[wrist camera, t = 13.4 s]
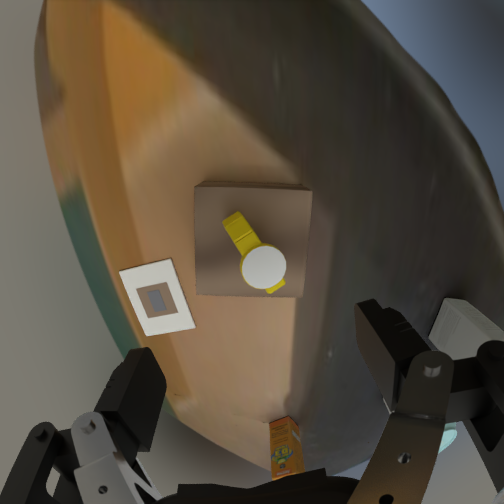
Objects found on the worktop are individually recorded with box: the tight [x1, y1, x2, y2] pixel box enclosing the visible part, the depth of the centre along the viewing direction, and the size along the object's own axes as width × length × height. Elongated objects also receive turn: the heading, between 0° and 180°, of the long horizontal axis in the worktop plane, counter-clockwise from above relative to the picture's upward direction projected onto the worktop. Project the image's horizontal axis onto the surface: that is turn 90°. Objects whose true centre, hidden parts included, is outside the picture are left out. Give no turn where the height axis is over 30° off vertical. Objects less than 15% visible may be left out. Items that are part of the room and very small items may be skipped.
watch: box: [222, 211, 286, 294], centre depth 21 cm, size 6×3×6 cm, turn 32°
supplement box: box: [269, 416, 305, 480], centre depth 32 cm, size 3×4×10 cm
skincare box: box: [428, 298, 504, 360], centre depth 26 cm, size 6×4×12 cm
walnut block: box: [195, 181, 313, 297], centre depth 26 cm, size 9×9×5 cm
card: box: [119, 258, 196, 336], centre depth 30 cm, size 8×6×1 cm
